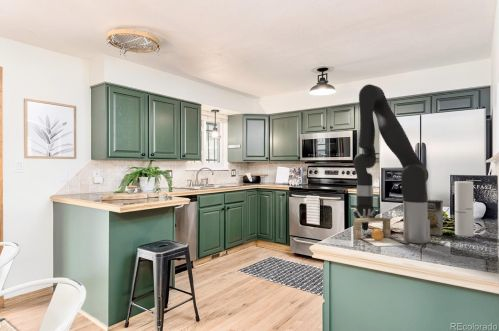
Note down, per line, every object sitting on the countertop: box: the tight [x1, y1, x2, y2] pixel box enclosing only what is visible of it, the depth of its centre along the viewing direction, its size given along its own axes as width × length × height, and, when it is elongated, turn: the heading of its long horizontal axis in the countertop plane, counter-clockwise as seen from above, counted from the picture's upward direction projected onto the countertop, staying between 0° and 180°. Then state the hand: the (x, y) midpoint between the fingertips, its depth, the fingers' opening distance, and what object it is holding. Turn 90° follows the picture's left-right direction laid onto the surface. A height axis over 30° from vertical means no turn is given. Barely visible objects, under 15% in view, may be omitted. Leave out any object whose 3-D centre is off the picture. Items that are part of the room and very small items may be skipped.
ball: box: [371, 228, 384, 241], centre depth 133 cm, size 5×5×5 cm
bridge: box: [353, 217, 391, 240], centre depth 138 cm, size 3×16×9 cm, turn 96°
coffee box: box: [427, 199, 444, 236], centre depth 145 cm, size 9×6×16 cm
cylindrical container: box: [454, 180, 475, 238], centre depth 142 cm, size 7×7×25 cm
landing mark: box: [362, 237, 405, 247], centre depth 129 cm, size 12×12×1 cm
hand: (364, 230), depth 147 cm, fingers closed
